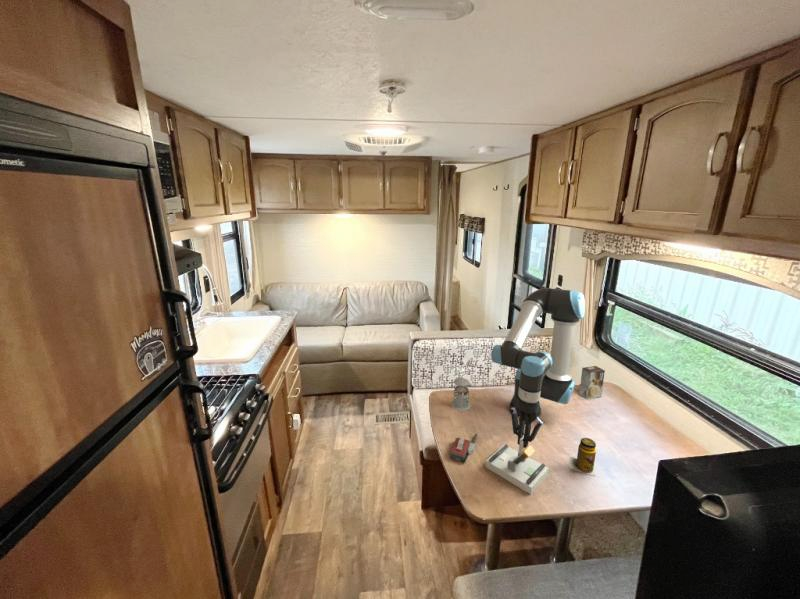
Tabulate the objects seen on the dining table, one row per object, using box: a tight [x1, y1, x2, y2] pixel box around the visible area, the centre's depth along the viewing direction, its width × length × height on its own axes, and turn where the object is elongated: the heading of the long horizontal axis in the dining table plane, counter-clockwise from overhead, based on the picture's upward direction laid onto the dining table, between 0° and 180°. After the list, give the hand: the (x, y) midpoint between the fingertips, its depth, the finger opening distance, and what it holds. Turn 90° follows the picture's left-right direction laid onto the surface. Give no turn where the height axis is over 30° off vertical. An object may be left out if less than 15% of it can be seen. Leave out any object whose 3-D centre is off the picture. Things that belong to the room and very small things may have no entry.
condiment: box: [569, 437, 597, 477], centre depth 134 cm, size 7×8×12 cm
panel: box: [485, 444, 550, 495], centre depth 133 cm, size 14×19×6 cm
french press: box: [451, 361, 471, 412], centre depth 177 cm, size 10×12×25 cm
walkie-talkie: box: [449, 433, 478, 464], centre depth 146 cm, size 9×4×20 cm
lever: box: [512, 444, 536, 466], centre depth 130 cm, size 6×2×10 cm
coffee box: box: [579, 365, 606, 400], centre depth 185 cm, size 9×6×16 cm
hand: (521, 452), depth 130 cm, fingers closed
